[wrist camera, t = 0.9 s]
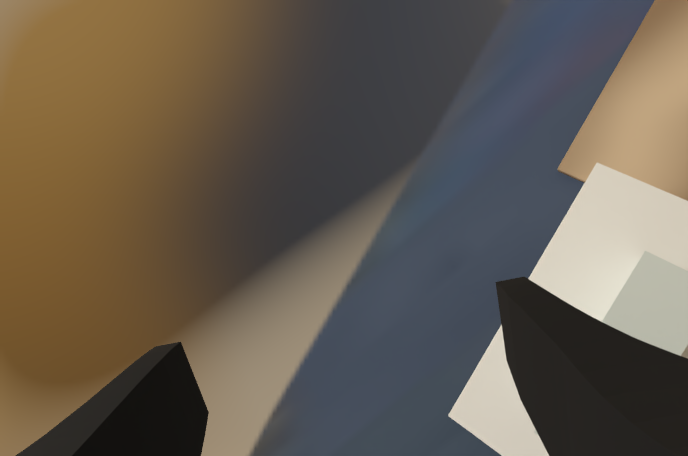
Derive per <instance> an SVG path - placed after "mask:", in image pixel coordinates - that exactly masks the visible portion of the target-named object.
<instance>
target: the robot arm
mask: <svg viewBox="0 0 688 456" xmlns="http://www.w3.org/2000/svg"><path fill="white" fill-rule="evenodd" d="M496 287H497V295H498V302H499V309H500V317H501V324H502V331H503V339H504V346H505V353H506V360H507V363H508V366H509V369H510V372H511V374H512V377H513V380H514V383H515V386H516V388H517V391H518V394H519V396H520V399H521V401H522V403H523V405H524V407H525V409H526V411H527V413H528V415H529V417H530V419H531V421H532V423H533V425H534V427H535V429H536V431H537V433H538V435H539V437H540V439H541V441H542V443H543V445H544V447H545V449H546V451H547V453H548V454H549V456H688V358H685V357H682V356H680V355H677V354H674V353H671V352H669V351H666V350H664V349H661V348H659V347H656V346H654V345H651V344H648V343H646V342H643V341H641V340H639V339H637V338H634V337H632V336H630V335H628V334H625V333H623V332H621V331H619V330H617V329H615V328H613V327H611V326H609V325H607V324H605V323H603V322H601V321H599V320H597V319H595V318H593V317H591V316H590V315H588V314H586V313H584V312H582V311H581V310H579V309H577V308H575V307H573V306H572V305H570V304H568V303H567V302H565V301H563V300H562V299H560V298H558V297H557V296H555V295H553V294H552V293H550V292H548V291H547V290H545V289H544V288H542V287H540V286H539V285H537V284H536V283H534V282H532V281H531V280H529V279H527V278H526V277H520V278H515V279H510V280H504V281H499V282H496ZM207 419H208V410H207V407H206V405H205V402H204V400H203V397H202V394H201V392H200V389H199V387H198V384H197V382H196V379H195V377H194V374H193V372H192V369H191V367H190V364H189V362H188V359H187V357H186V354H185V352H184V349H183V347H182V344H181V342H178V343H173V344H167V345H162V346H156V347H154V348H153V349H151V350H150V351H148V352H147V353H146V354H144V355H143V356H142V357H140V358H139V359H138V360H137V361H135V362H134V363H133V364H132V365H130V366H129V367H128V368H127V369H125V370H124V371H123V372H122V373H121V374H120V375H118V376H117V377H116V378H115V379H113V380H112V381H111V382H110V383H109V384H107V385H106V386H105V387H104V388H103V389H102V390H100V391H99V392H98V393H97V394H96V395H94V396H93V397H92V398H91V399H90V400H88V401H87V402H86V403H85V404H84V405H82V406H81V407H80V408H78V409H77V410H76V411H75V412H73V413H72V414H71V415H70V416H68V417H67V418H66V419H64V420H63V421H62V422H61V423H59V424H58V425H57V426H56V427H54V428H53V429H52V430H51V431H49V432H48V433H47V434H45V435H44V436H43V437H41V438H40V439H39V440H37V441H36V442H34V443H33V444H32V445H30V446H29V447H28V448H26V449H25V450H23V451H22V452H20V453H19V454H17V455H16V456H201V452H202V447H203V442H204V437H205V431H206V425H207Z"/></svg>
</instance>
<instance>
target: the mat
mask: <svg viewBox="0 0 688 456" xmlns="http://www.w3.org/2000/svg"><path fill="white" fill-rule="evenodd" d="M596 163H600V164H602V165H604V166H607V167H609V168H611V169H614V170H616V171H618V172H621V173H623V174H626V175H628V176H630V177H633V178H635V179H637V180H640V181H642V182H644V183H647V184H649V185H651V186H654V187H656V188H658V189H661V190H663V191H666V192H668V193H670V194H673V195H675V196H677V197H680V198H682V199H684V200H687V201H688V0H655V1H654V3H653V4H652V6H651V8H650V10H649V11H648V13H647V15H646V17H645V18H644V20H643V22H642V24H641V25H640V27H639V29H638V30H637V32H636V34H635V36H634V37H633V39H632V41H631V43H630V44H629V46H628V48H627V49H626V51H625V53H624V55H623V56H622V58H621V60H620V62H619V63H618V65H617V67H616V69H615V70H614V72H613V74H612V75H611V77H610V79H609V81H608V82H607V84H606V86H605V88H604V89H603V91H602V93H601V94H600V96H599V98H598V100H597V101H596V103H595V105H594V107H593V108H592V110H591V112H590V114H589V115H588V117H587V119H586V120H585V122H584V124H583V126H582V127H581V129H580V131H579V133H578V134H577V136H576V138H575V139H574V141H573V143H572V145H571V146H570V148H569V150H568V152H567V153H566V155H565V157H564V159H563V160H562V162H561V164H560V165H559V167H558V171H559V172H561V173H564V174H566V175H568V176H570V177H573V178H575V179H577V180H579V181H581V182H584V183H585V182H586V180H587V178H588V176H589V175H590V173H591V171H592V170H593V168H594V166H595V165H596Z"/></svg>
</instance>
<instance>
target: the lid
mask: <svg viewBox="0 0 688 456" xmlns="http://www.w3.org/2000/svg"><path fill="white" fill-rule="evenodd" d="M529 280H531V281H532V282H534V283H536V284H537V285H539V286H540V287H542V288H544V289H545V290H547V291H548V292H550V293H552V294H553V295H555V296H557V297H558V298H560V299H562V300H563V301H565V302H567V303H568V304H570V305H572V306H573V307H575V308H577V309H579V310H581V311H582V312H584V313H586V314H588V315H590V316H591V317H593V318H595V319H597V320H599V321H601V322H603V323H605V324H607V325H609V326H611V327H613V328H615V329H617V330H619V331H621V332H623V333H625V334H628V335H630V336H632V337H634V338H637V339H639V340H641V341H643V342H646V343H648V344H651V345H654V346H656V347H659V348H661V349H664V350H666V351H669V352H671V353H674V354H677V355H680V356H682V357H685V358H688V201H687V200H684V199H682V198H680V197H677V196H675V195H673V194H670V193H668V192H666V191H663V190H661V189H658V188H656V187H654V186H651V185H649V184H647V183H644V182H642V181H640V180H637V179H635V178H633V177H630V176H628V175H626V174H623V173H621V172H618V171H616V170H614V169H611V168H609V167H607V166H604V165H602V164H600V163H596V165H595V166H594V168H593V170H592V171H591V173H590V175H589V176H588V178H587V180H586V182H585V183H584V185H583V187H582V188H581V190H580V192H579V193H578V195H577V197H576V199H575V200H574V202H573V204H572V205H571V207H570V209H569V211H568V212H567V214H566V216H565V217H564V219H563V221H562V222H561V224H560V226H559V228H558V229H557V231H556V233H555V234H554V236H553V238H552V239H551V241H550V243H549V245H548V246H547V248H546V250H545V251H544V253H543V255H542V257H541V258H540V260H539V262H538V263H537V265H536V267H535V268H534V270H533V272H532V274H531V275H530V277H529ZM448 416H449V417H450V418H452V419H453V420H455V421H456V422H457V423H459V424H460V425H461V426H463V427H464V428H465V429H467V430H468V431H469V432H471V433H472V434H473V435H475V436H476V437H478V438H479V439H480V440H482V441H483V442H484V443H486V444H487V445H488V446H490V447H491V448H492V449H494V450H495V451H496V452H498V453H499V454H500V455H502V456H549V454H548V453H547V451H546V449H545V447H544V445H543V443H542V441H541V439H540V437H539V435H538V433H537V431H536V429H535V427H534V425H533V423H532V421H531V419H530V417H529V415H528V413H527V411H526V409H525V407H524V405H523V403H522V401H521V399H520V396H519V394H518V391H517V388H516V386H515V383H514V380H513V377H512V374H511V372H510V369H509V366H508V363H507V360H506V353H505V346H504V339H503V331H502V325H501V326H500V328H499V330H498V331H497V333H496V335H495V337H494V338H493V340H492V342H491V343H490V345H489V347H488V349H487V350H486V352H485V354H484V355H483V357H482V359H481V360H480V362H479V364H478V366H477V367H476V369H475V371H474V372H473V374H472V376H471V377H470V379H469V381H468V383H467V384H466V386H465V388H464V389H463V391H462V393H461V395H460V396H459V398H458V400H457V401H456V403H455V405H454V406H453V408H452V410H451V412H450V413H449V415H448Z"/></svg>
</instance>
